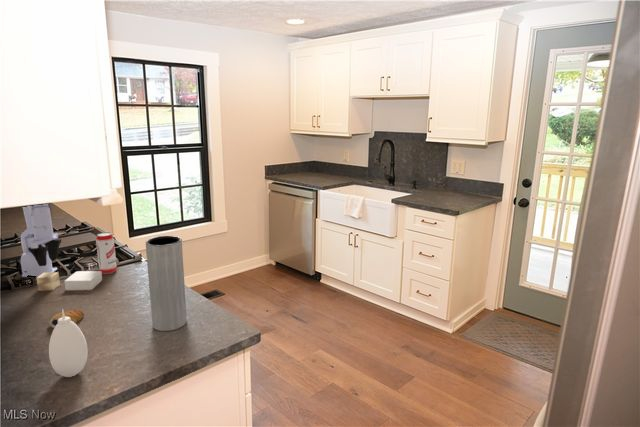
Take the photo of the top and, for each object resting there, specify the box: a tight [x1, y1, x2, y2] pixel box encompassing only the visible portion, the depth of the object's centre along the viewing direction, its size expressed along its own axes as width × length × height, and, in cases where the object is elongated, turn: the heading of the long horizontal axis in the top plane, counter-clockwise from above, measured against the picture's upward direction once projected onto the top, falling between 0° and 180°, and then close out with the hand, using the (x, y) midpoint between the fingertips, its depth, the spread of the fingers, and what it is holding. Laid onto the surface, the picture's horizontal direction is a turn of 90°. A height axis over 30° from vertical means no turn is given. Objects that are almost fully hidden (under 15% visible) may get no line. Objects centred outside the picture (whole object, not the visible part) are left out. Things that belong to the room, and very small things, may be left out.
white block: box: [64, 270, 103, 291], centre depth 152 cm, size 9×9×4 cm
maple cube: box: [36, 271, 61, 292], centre depth 149 cm, size 5×5×5 cm
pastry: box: [48, 308, 85, 329], centre depth 126 cm, size 9×7×4 cm
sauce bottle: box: [48, 308, 89, 378], centre depth 99 cm, size 8×8×18 cm
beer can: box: [95, 231, 118, 275], centre depth 163 cm, size 6×6×16 cm
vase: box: [145, 235, 187, 332], centre depth 123 cm, size 10×10×27 cm
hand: (48, 262), depth 147 cm, fingers open, 7 cm apart
